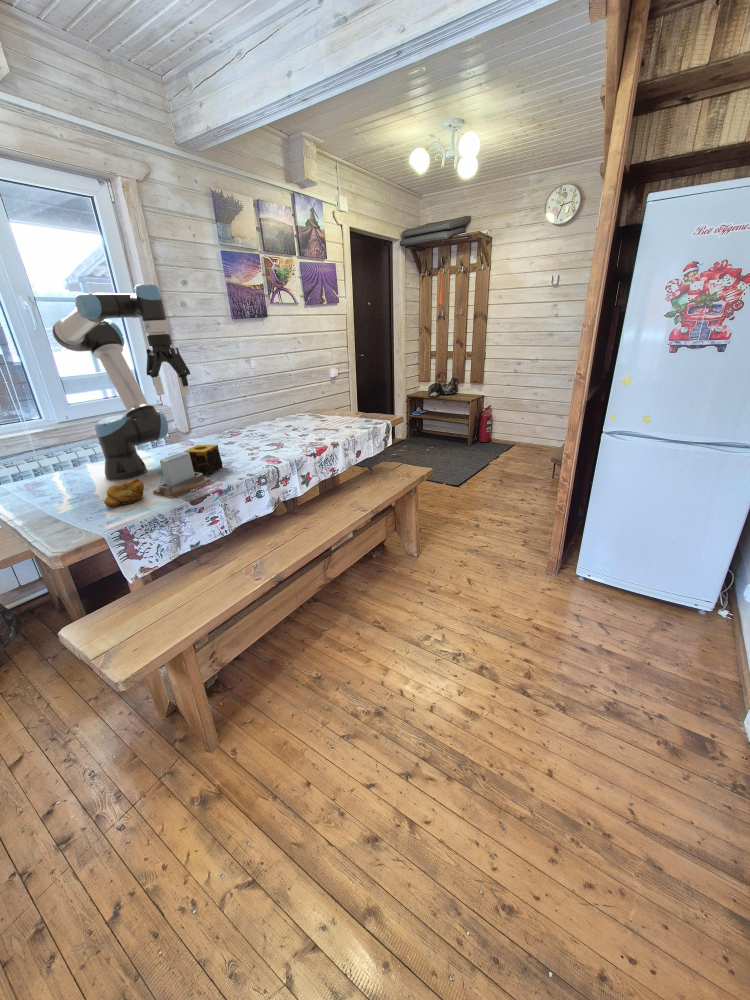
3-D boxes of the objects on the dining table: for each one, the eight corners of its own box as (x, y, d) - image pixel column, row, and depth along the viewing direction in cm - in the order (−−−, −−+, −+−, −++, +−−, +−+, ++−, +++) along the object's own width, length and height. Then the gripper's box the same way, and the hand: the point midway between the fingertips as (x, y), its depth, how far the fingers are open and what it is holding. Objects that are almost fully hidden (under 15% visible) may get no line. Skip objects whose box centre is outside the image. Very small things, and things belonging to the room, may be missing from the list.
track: (153, 493, 151) (151, 485, 150) (188, 478, 164) (186, 470, 163) (176, 497, 146) (174, 489, 145) (211, 481, 159) (209, 474, 158)
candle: (210, 475, 166) (205, 451, 162) (188, 475, 168) (182, 451, 164) (223, 467, 175) (218, 444, 171) (202, 467, 177) (197, 444, 173)
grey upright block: (167, 489, 152) (159, 460, 147) (189, 479, 160) (182, 451, 155) (174, 490, 150) (166, 461, 145) (196, 480, 158) (189, 452, 154)
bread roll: (109, 511, 139) (102, 489, 135) (101, 504, 145) (93, 483, 142) (150, 499, 147) (143, 478, 144) (140, 493, 153) (134, 472, 150)
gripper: (125, 335, 149) (142, 396, 158) (173, 333, 139) (189, 397, 147) (144, 334, 155) (159, 392, 164) (191, 331, 145) (205, 393, 153)
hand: (173, 395), depth 156 cm, fingers open, 13 cm apart
